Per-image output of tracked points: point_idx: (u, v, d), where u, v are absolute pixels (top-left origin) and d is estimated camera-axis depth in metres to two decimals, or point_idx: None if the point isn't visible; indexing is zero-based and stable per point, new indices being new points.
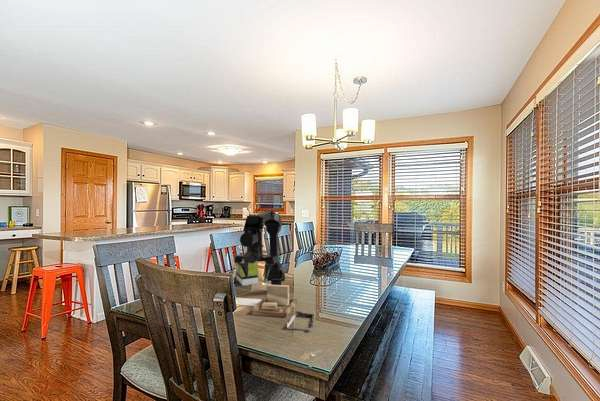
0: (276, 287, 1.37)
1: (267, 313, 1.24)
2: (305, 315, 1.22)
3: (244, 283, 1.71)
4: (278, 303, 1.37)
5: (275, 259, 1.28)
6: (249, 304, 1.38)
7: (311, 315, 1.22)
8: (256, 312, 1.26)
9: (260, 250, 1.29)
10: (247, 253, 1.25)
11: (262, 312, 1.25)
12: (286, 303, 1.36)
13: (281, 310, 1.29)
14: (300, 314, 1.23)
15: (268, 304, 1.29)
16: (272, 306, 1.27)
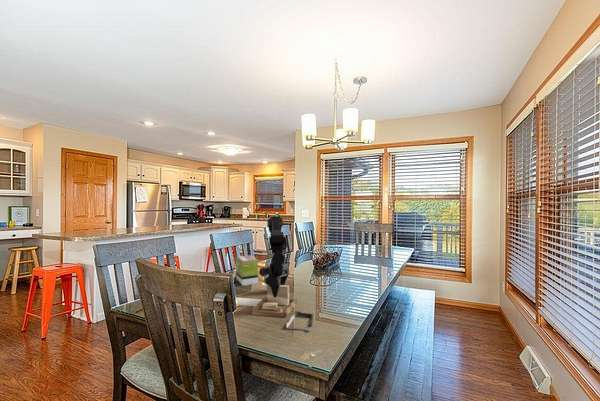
0: None
1: (267, 313, 1.24)
2: (304, 315, 1.22)
3: (244, 283, 1.71)
4: (278, 303, 1.37)
5: (270, 280, 1.30)
6: (249, 304, 1.38)
7: (310, 315, 1.22)
8: (256, 312, 1.26)
9: (273, 268, 1.36)
10: (266, 267, 1.41)
11: (262, 312, 1.25)
12: (286, 303, 1.36)
13: (281, 310, 1.29)
14: (300, 314, 1.23)
15: (268, 304, 1.29)
16: (273, 306, 1.27)
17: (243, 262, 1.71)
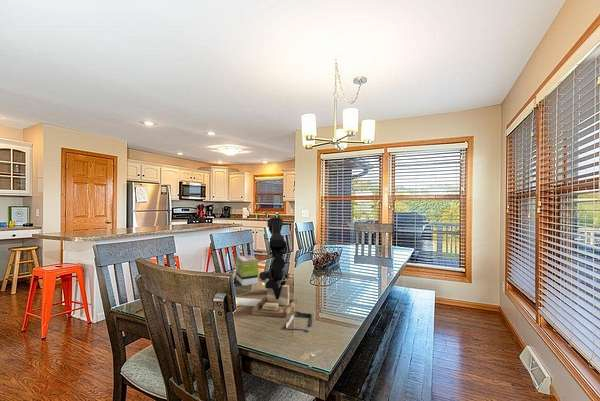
0: None
1: (267, 313, 1.24)
2: (304, 315, 1.23)
3: (244, 283, 1.71)
4: (278, 303, 1.37)
5: (270, 285, 1.30)
6: (249, 304, 1.38)
7: (310, 315, 1.22)
8: (256, 312, 1.26)
9: (273, 272, 1.36)
10: (266, 271, 1.41)
11: (262, 312, 1.25)
12: (286, 303, 1.36)
13: (281, 310, 1.29)
14: (299, 314, 1.23)
15: (269, 304, 1.29)
16: (272, 307, 1.27)
17: (243, 262, 1.71)
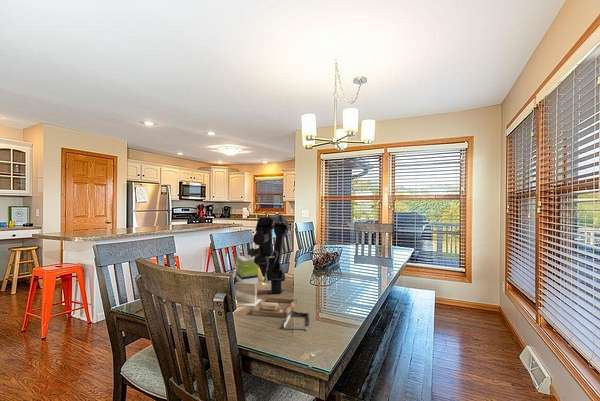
0: (244, 284, 1.41)
1: (267, 313, 1.24)
2: (300, 314, 1.23)
3: None
4: (246, 300, 1.40)
5: (258, 259, 1.36)
6: (249, 304, 1.38)
7: (306, 314, 1.23)
8: (256, 312, 1.26)
9: (262, 249, 1.42)
10: None
11: (262, 312, 1.25)
12: (253, 300, 1.40)
13: (281, 310, 1.29)
14: (295, 314, 1.24)
15: (268, 304, 1.29)
16: (272, 306, 1.27)
17: (243, 262, 1.71)
